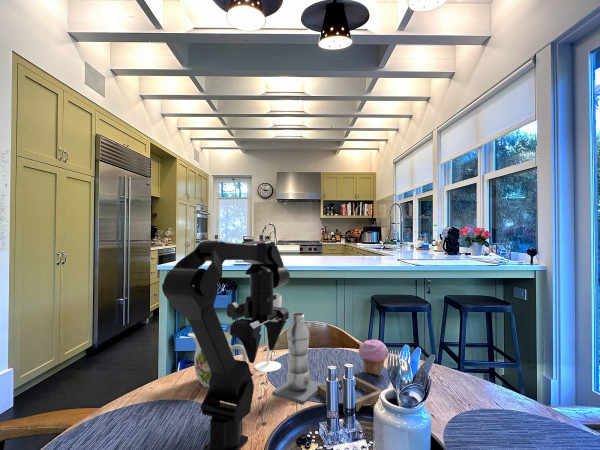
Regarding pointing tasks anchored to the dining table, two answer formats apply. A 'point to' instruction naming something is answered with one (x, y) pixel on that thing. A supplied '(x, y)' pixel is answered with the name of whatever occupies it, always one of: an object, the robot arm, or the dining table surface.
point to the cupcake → (373, 356)
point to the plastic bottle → (298, 353)
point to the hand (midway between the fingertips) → (261, 355)
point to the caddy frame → (367, 399)
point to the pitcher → (201, 363)
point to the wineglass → (268, 365)
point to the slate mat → (297, 392)
